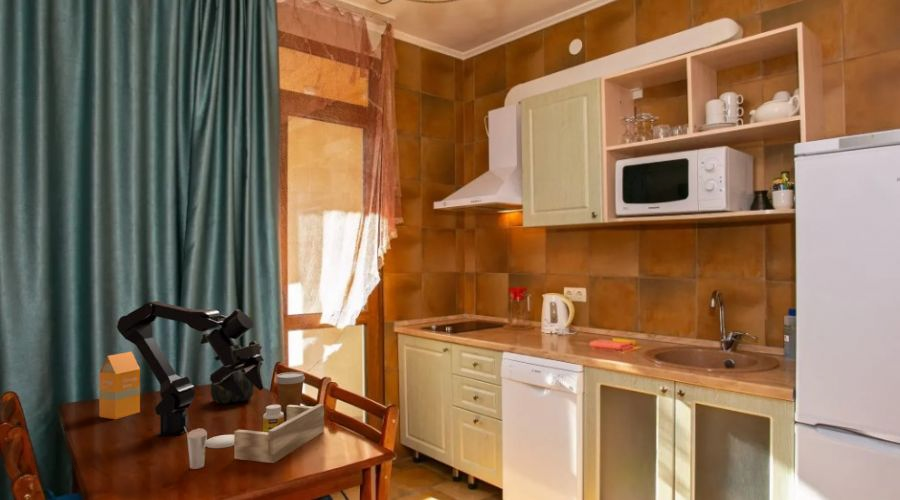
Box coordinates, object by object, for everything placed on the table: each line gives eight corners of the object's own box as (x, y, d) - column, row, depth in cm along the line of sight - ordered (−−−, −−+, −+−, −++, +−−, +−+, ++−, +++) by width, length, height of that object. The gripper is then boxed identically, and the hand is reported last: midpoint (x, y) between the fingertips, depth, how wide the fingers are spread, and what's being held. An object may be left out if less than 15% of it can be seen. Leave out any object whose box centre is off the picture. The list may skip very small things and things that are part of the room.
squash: (195, 388, 193) (218, 358, 190) (227, 380, 207) (249, 352, 204) (217, 418, 189) (241, 388, 185) (249, 408, 202) (271, 380, 199)
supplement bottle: (266, 448, 149) (265, 410, 149) (260, 442, 154) (260, 405, 154) (286, 444, 152) (286, 407, 152) (280, 438, 157) (280, 402, 157)
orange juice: (98, 416, 178) (98, 355, 178) (124, 409, 186) (124, 350, 186) (115, 419, 175) (115, 356, 175) (140, 411, 183) (140, 352, 183)
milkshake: (187, 463, 138) (187, 423, 138) (209, 462, 139) (209, 423, 139) (180, 470, 134) (180, 429, 134) (203, 469, 134) (203, 428, 134)
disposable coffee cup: (310, 407, 188) (310, 372, 188) (295, 415, 179) (295, 378, 179) (285, 405, 190) (285, 371, 190) (269, 413, 181) (269, 377, 181)
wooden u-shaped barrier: (234, 458, 141) (234, 427, 141) (289, 427, 166) (289, 401, 166) (273, 463, 138) (273, 431, 138) (323, 431, 163) (323, 404, 163)
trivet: (199, 449, 148) (199, 447, 148) (210, 436, 158) (210, 435, 158) (238, 447, 150) (238, 445, 150) (246, 435, 159) (246, 433, 159)
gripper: (226, 337, 149) (256, 386, 147) (262, 328, 167) (290, 371, 165) (196, 360, 150) (226, 408, 148) (235, 348, 169) (262, 391, 167)
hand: (253, 393), depth 157 cm, fingers open, 9 cm apart
